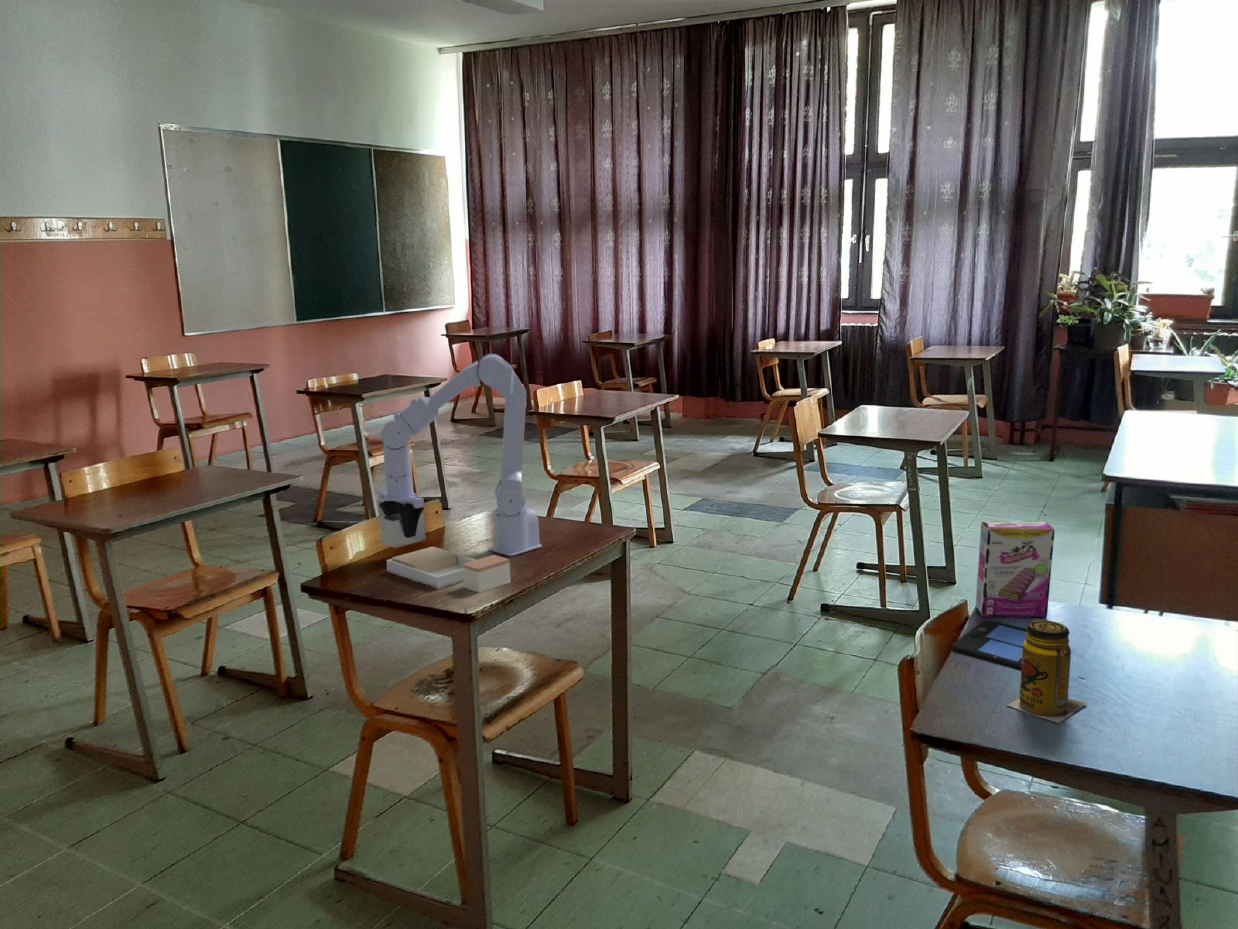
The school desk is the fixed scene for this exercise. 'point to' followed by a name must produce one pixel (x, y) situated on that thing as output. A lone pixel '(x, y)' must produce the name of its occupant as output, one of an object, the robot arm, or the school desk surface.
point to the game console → (994, 643)
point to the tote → (430, 566)
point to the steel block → (400, 531)
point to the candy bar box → (1014, 568)
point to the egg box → (486, 573)
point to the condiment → (1046, 673)
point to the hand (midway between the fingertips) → (403, 534)
